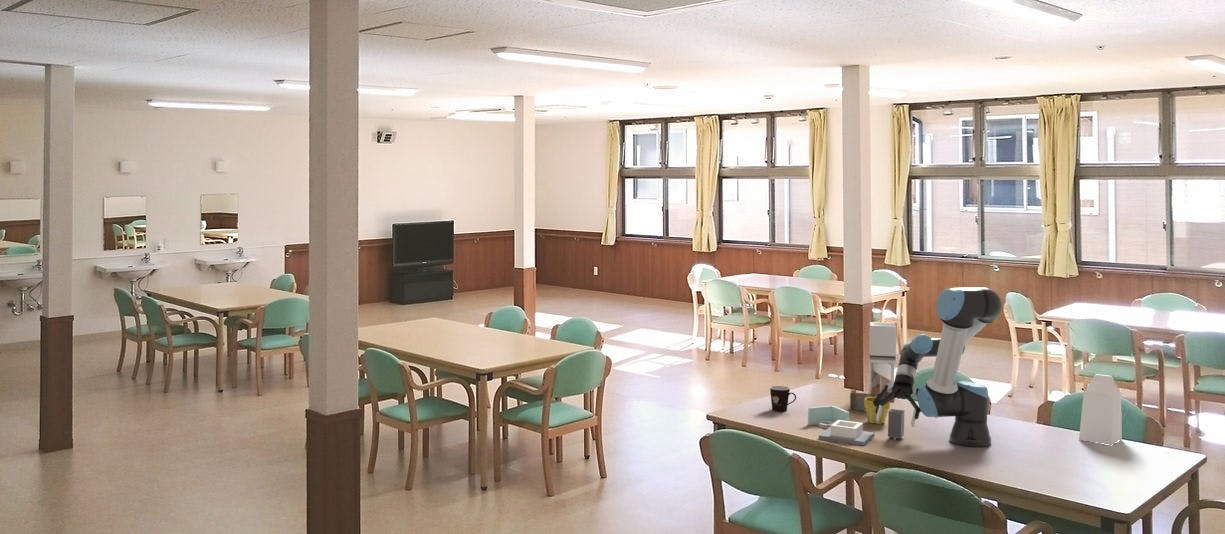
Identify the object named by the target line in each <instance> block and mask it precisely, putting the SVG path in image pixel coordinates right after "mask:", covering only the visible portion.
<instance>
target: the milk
mask: <svg viewBox="0 0 1225 534" xmlns="http://www.w3.org/2000/svg"><path fill="white" fill-rule="evenodd" d="M1082 396H1083V397H1082V405H1081V414H1080V417H1081V418H1080V425H1079V435H1078V441H1081V440H1084V441H1083V442H1086V441H1091V442H1098V443H1104V444H1109V445H1112V444H1114V443H1115V442H1117V441H1118V440H1122V441H1123V439H1122V438H1123V437H1122V436H1123V435H1122V434H1123V432H1122V431H1123V428H1122V424H1123V419H1122V417H1123V416H1122V392H1121V390H1120V389H1119V387H1118V386H1117V385H1116V383H1115V380H1114V378H1113V375H1107V374H1102V373H1101V374H1100V373H1099V374H1098V373H1095V374H1094V376H1093V377H1092V378H1091V381H1090V382H1089V384H1088V385H1087V387H1086V389H1085V391H1084V392H1083V395H1082ZM1091 442H1090V443H1091Z"/></svg>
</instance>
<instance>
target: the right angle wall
mask: <svg viewBox="0 0 1225 534" xmlns="http://www.w3.org/2000/svg"><path fill="white" fill-rule="evenodd" d="M807 410H808V411H807V425H808V426H811V425H813V426H814V425H817V427H818V428H820V429H828V428H829V427H831V425H832V424H833V423H835V422H836V421H837V420H844V421H850V412H849V411H848V410H845V409H843V408H841V407H837V406H835V405H826V406H825V405H824V406H814V407H813V406H812V407H808V408H807Z"/></svg>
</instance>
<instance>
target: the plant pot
mask: <svg viewBox="0 0 1225 534" xmlns="http://www.w3.org/2000/svg"><path fill="white" fill-rule="evenodd" d="M875 398H876V397H867V398H865V399H864V406H865V407H866V411H865V412H866V416H867V417H866V418H867V422H868V423H869V422H870V423H869V424H873V423H876V424H875V425H883V424H885V423H886V418H887V415H888V414H887V413H888V412H889V411H888V410H889V409H890V405H891V402H890V401H889V402H888V403H886V404H885V405H883V406H882V412H881V416H880V420H879V422H877V420H876V417H877V414H876V412H875V410H876V406H874V404H873V400H874V399H875ZM882 423H883V424H882Z"/></svg>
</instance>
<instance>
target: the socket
mask: <svg viewBox="0 0 1225 534" xmlns="http://www.w3.org/2000/svg"><path fill="white" fill-rule="evenodd" d="M873 438H875V432H871V431H864V423H863V422H857V421H850V420H849V421H844V420H837V421H836V422H835V423H833V424H832V425H831V427H829V428H826V429H825V430H824V431H822V432H821V433H820V434H819V435H818V440H822V441H828V440H831V441H830V442H835V441H839V442H838V443H842V442H845V443H844V444H849V443H850V444H851V445H857V446H863V447H864V446H865V445H867V443H869V442H870V441H872V440H873Z"/></svg>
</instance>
